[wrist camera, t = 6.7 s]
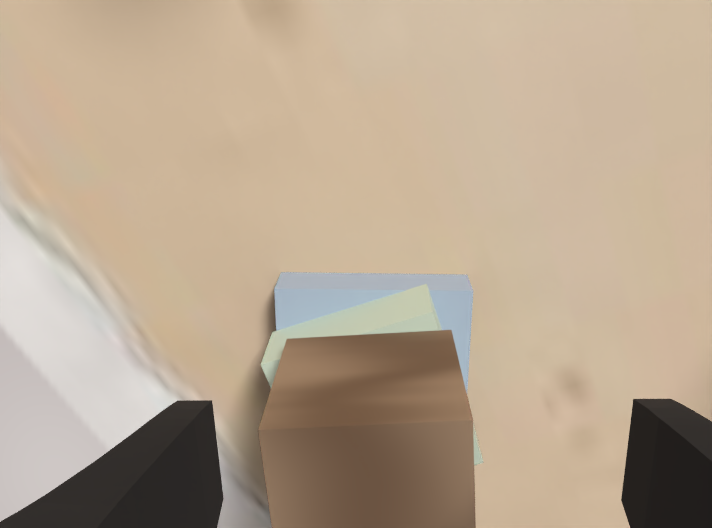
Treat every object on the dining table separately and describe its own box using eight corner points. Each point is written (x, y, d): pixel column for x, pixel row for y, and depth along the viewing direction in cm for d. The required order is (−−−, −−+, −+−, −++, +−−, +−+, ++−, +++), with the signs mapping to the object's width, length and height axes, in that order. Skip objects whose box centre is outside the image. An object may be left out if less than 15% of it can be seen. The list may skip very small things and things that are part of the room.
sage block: (426, 283, 20) (432, 311, 18) (473, 421, 21) (483, 462, 19) (272, 332, 21) (260, 364, 19) (327, 462, 22) (322, 506, 20)
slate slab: (464, 266, 22) (473, 290, 20) (455, 424, 24) (462, 460, 22) (284, 264, 22) (274, 288, 20) (290, 421, 24) (281, 457, 22)
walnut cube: (451, 329, 18) (473, 420, 14) (455, 470, 19) (476, 591, 15) (286, 338, 18) (258, 430, 14) (303, 476, 20) (281, 597, 15)
